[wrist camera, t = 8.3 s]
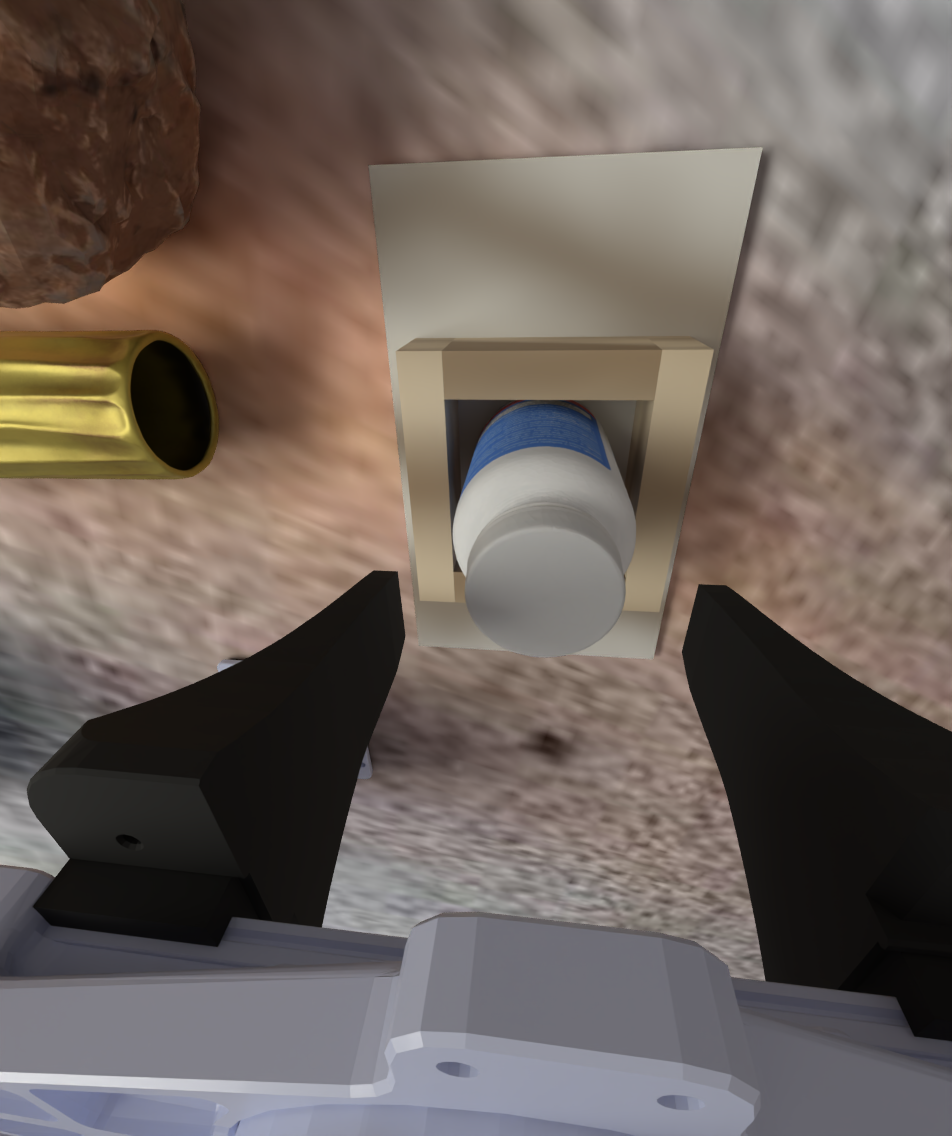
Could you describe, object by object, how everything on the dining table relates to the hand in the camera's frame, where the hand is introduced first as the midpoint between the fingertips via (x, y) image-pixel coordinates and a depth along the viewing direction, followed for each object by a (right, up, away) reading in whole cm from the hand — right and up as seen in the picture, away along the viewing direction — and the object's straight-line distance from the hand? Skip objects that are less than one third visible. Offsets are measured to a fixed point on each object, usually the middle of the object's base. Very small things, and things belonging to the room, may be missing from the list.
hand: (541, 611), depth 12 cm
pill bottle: (+1, +6, +8) cm, 10 cm away
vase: (-27, +7, +8) cm, 29 cm away
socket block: (+1, +5, +9) cm, 10 cm away
